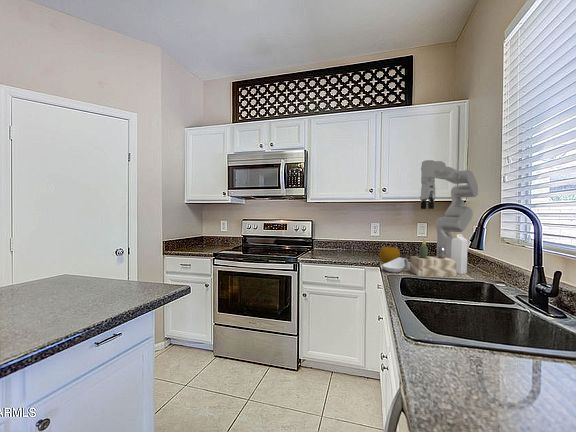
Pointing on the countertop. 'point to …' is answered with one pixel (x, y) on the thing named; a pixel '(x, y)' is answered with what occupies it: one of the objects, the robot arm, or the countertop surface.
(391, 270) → the spoon rest
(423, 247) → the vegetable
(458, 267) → the milk
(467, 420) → the countertop surface
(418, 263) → the beige woven basket
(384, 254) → the apple
